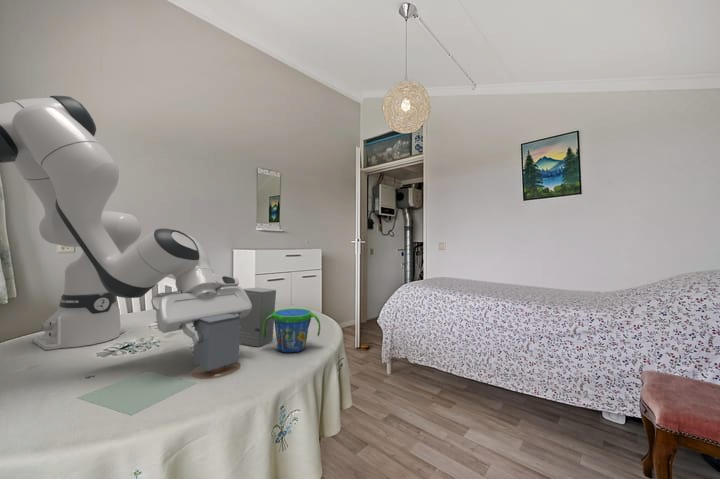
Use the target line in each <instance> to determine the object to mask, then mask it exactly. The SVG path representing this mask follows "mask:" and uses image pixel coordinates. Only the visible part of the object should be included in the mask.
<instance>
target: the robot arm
mask: <svg viewBox="0 0 720 479" xmlns="http://www.w3.org/2000/svg"><path fill="white" fill-rule="evenodd" d="M96 133H97V126H96V124H95V121H94V118H93V117H92V115H91V113H90V112H89V111H88V109H87V108H86V107H85V106H84V105H83V104H82V103H81V102H79V100H76V99H75V98H74V97H71V96H66V95H50V96H49V97H34V98H22V99H15V100H12V101H10V102H9V101H8V102H5V103H4V102H2V103H0V164H2V163H3V164H4V163H13V165H14V166H15V168H16V169H17V171H18V172H19V174H20V175H21V176H22V178H23V179H24V180H25V182H26V183H27V184H28V185H29V187H30V189H32V191H33V192H34V194H35V195H36V196H37V198H38V199H39V200H40V202H41V204H42V207H43V210H44V216H43V218H41V221H40V222H39V227H38V230H39V233H40V235H41V238H43V239H44V240H45V241H46V242H47V243H50V244H54V245H58V246H63V247H75V248H76V247H78V248H79V247H80V248H81V250H82V254H81V255H80V257H79V258H78V259H76V260H74V261H73V262H71V263H69V264H68V265H67V266H66V268H65V270H64V287H63V288H64V290H63V291H64V292H63V294H62V295H60V297H61V298H60V300H59V304H58V306H59V309H58V310H56V311H55V312H54V313H53V314H52V315H51V316H50V317H49V318H47V319H46V320H45V322H43V323H41V324H40V325H41V326H40V330H41V331H42V332H44V334H42V335H38V336H34V337H33V339H32V343H35V344H36V345H37V346H39V347H40V348H42V350H45V351H49V350H55V349H56V350H57V349H62V348H63V349H64V348H77V347H83V346H91V345H95V344H100V343H104V342H108V341H112V340H113V339H117V338H118V337H120V335H121V334H123V333H125V328H122V326H121V325H122V324H121V311H120V307H119V306H117V305H116V304H115V303H116V302H117V297H118V298H123V299H124V298H125V299H135V298H136V299H138V298H141V297H143V296H145V295H146V294H147V293H148V292H149V291H151V290H152V289H153V288H154V287H155V286H156V285H157V284H158V283H160V282H161V281H162V280H164V279H166V278H167V277H168V276H169V275H172V277H174V279H175V288H176V289H177V290H176V291H175V290H174V291H169V292H160V293H157V294H156V295H154V296H153V297H152V298H151V301H150V302H151V306H152V308H153V309H154V311H155V312H156V313H155V314H156V315H155V318H156V325H157V329H158V331H159V332H162V333H163V334H167V333H171V332H175V331H181V330H182V332H183V334H185V335H186V336H188V338H190V339H191V340H192V343H193V345H194V344H198V343H202V341H203V336H202V332H197V331H195V330H194V328H195V320H198V319H199V318H205V317H210V316H216V315H222V314H227V313H229V314H233V315H237V316H240V318H242V317H246V316H247V315H248V314H249V312H250V311H251V308H252V304H251V301H250V299H249V298H248V296H247V294H246V292H245V291H244V290H243V289H244V288H242V287H241V286H239V283H240V281H239V279H238V278H237V277H234V276H233V277H232V276H229V275H228V276H226V275H222V274H219V273H215V271H214V270H213V268H211V262H210V259H209V257H208V255H207V252H206V251H205V250H204V248H203V247H202V244H201V243H200V241H198V240H197V239H196V238H195V237H194V236H192V235H189V234H185V233H184V232H182V231H180V230H176V229H171V228H157V229H155V230H154V231H152V232H150V233H149V234H148V235H146V236H144V237H143V238H142V239H140V240H139V238H140V236H141V234H142V225H141V223H140V221H139V220H138V218H137V217H136V216H135V215H133V214H130V213H126V212H121V211H116V210H104V208H105V206H106V204H107V202H108V200H109V199H110V198H111V196H112V194H113V193H114V191H115V189H116V188H117V185H118V183H119V178H120V172H119V167H118V165H117V163H116V161H115V159H114V158H113V157H112V155H111V154H110V153H109V152H108V150H106V149H105V148H104V146H103V145H102V144H101V143H100V142H99V140H97V139H96V137H95V136H96ZM138 240H139V241H138ZM136 242H137V243H136ZM134 243H135V244H134ZM133 244H134V245H133ZM130 246H131V247H130Z"/></svg>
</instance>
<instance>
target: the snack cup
mask: <svg viewBox="0 0 720 479" xmlns="http://www.w3.org/2000/svg"><path fill="white" fill-rule="evenodd" d="M269 318H273V319H274V329H275V331H274V332H275V338H276V346H277V349H278V351H280V352H282V353H294V352H296V353H297V352H298V353H299V352H300V351H303V350H304V349H305V348H306V346H307V345H306V344H307V339H308V333H309V327H310V324H311V320H312V318H314V319H315V320H316V322H317V323H318V330H317V337H320V334H321V321H320V319H319V317H318V316H317V315H316V314H315V313H313V312H312V311H311V310H309V309H306V308H305V309H304V308H283V309H279V310H276V311H275V312H274V313H273V314H271V315H270V316H268V317H267V318H266V320H265V322H264V325H263V337H264V338H266V322H267V320H268V319H269Z"/></svg>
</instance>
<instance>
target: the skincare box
mask: <svg viewBox="0 0 720 479" xmlns="http://www.w3.org/2000/svg"><path fill="white" fill-rule="evenodd" d="M242 289H243V290H244V291H245V292H246V294H247V296H248V298H249V299H250V301H251V304H252V308H251V311H250V312H249V314H248V315H247V316H246V317H242V318H240V336H239V345H244V346H245V345H246V346H250V347H251V346H253V347H258V348H260V347H262V346H264V345H267V344H269V343H271V342H270V341H272V340H273V339H274V328H275V323H274V319H273V318H269V319H268V320H267V322H266V338H264V337H263V325H264V322H265V320H266V318H267V317H268V316H270V315H271V314H273V313H274V312H275V309H276V298H277V297H276V295H277V290H276V289H270V288H263V287H248V288H242ZM268 342H269V343H268ZM272 342H273V341H272ZM266 343H267V344H266Z"/></svg>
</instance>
